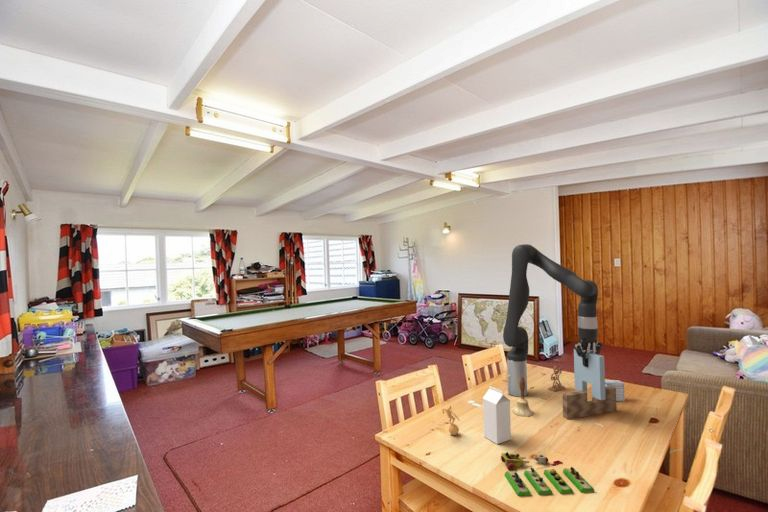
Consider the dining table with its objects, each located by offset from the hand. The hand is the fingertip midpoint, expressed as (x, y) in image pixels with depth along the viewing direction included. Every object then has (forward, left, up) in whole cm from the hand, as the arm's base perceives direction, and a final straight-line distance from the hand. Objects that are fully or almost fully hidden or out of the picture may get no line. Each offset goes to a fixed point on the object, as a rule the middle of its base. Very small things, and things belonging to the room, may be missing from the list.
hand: (588, 366), depth 160 cm
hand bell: (-28, -4, -21) cm, 35 cm away
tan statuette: (-8, +29, -21) cm, 37 cm away
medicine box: (+15, +19, -21) cm, 32 cm away
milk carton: (-40, -30, -21) cm, 54 cm away
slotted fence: (0, 0, -21) cm, 21 cm away
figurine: (-57, -31, -21) cm, 68 cm away
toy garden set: (-28, -51, -22) cm, 62 cm away
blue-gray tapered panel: (0, 0, -12) cm, 12 cm away
